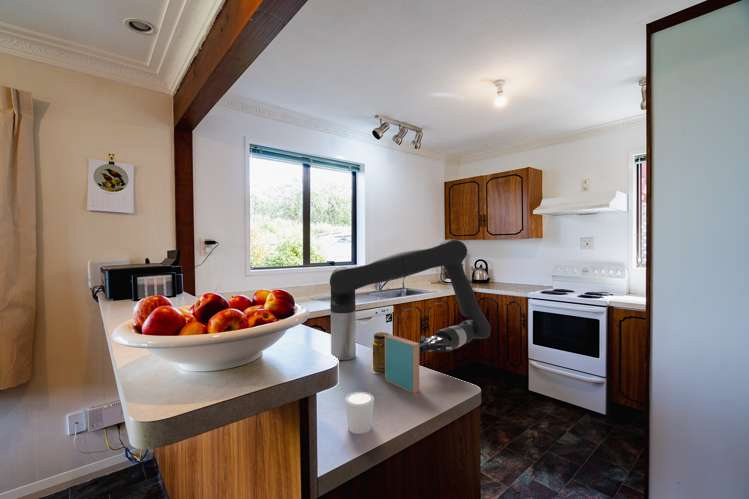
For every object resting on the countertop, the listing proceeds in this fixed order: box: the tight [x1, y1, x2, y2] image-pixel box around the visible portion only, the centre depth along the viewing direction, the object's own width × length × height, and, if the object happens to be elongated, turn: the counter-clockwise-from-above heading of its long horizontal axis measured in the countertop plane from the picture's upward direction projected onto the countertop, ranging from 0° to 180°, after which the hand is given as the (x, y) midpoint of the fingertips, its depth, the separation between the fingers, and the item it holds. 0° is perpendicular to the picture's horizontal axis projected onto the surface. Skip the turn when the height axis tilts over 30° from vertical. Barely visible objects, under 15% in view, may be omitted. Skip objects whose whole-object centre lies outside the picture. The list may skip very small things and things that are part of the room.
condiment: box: [370, 332, 390, 375], centre depth 114 cm, size 7×8×12 cm
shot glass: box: [344, 391, 375, 435], centre depth 80 cm, size 7×7×7 cm
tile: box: [384, 334, 420, 394], centre depth 102 cm, size 2×12×14 cm, turn 42°
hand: (418, 349), depth 107 cm, fingers closed
